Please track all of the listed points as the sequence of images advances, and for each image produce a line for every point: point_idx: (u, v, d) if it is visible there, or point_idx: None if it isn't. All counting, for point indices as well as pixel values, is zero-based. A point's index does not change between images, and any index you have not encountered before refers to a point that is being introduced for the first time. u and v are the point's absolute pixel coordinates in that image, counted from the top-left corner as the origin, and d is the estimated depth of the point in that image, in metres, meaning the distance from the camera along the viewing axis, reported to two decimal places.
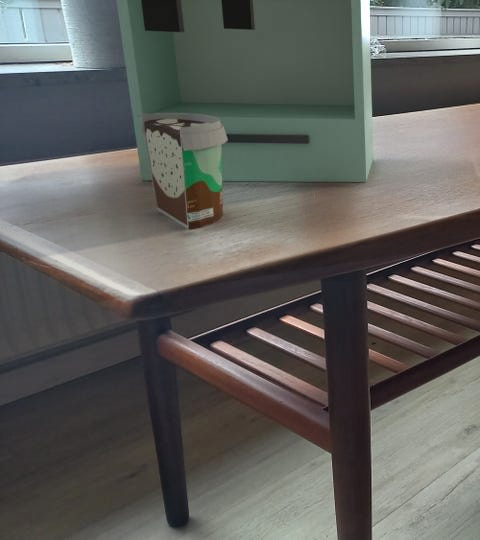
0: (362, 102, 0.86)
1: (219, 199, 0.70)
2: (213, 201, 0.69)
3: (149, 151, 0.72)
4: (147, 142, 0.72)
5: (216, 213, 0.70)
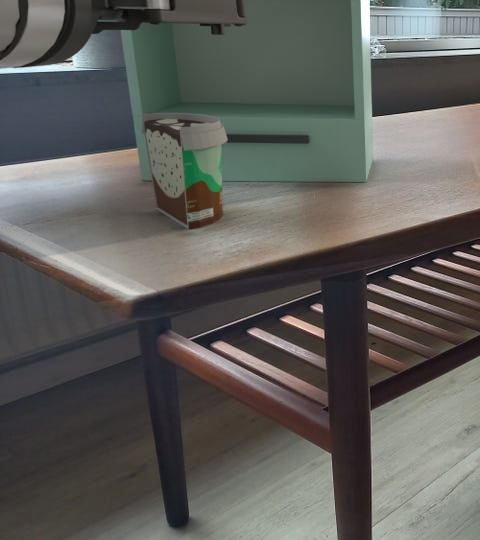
0: (362, 102, 0.86)
1: (219, 199, 0.70)
2: (213, 201, 0.69)
3: (149, 151, 0.72)
4: (147, 142, 0.72)
5: (216, 213, 0.70)
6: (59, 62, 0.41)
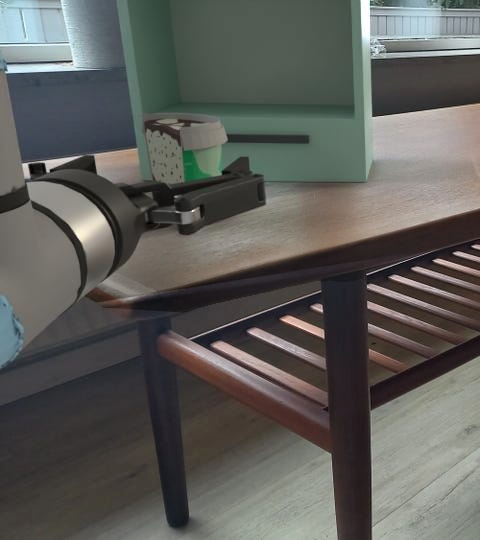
0: (362, 102, 0.86)
1: None
2: None
3: (149, 151, 0.72)
4: (147, 142, 0.72)
5: None
6: None
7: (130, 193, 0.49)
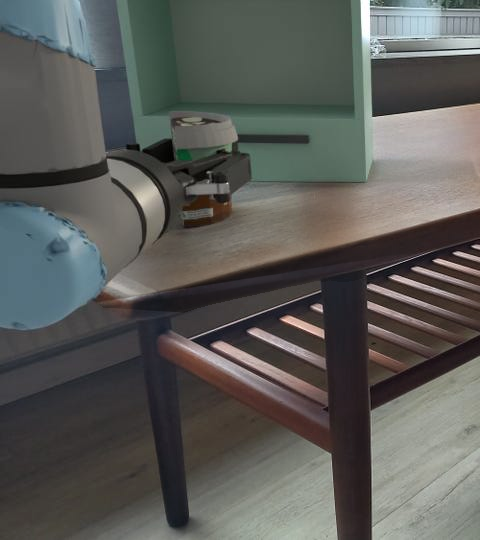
0: (362, 102, 0.86)
1: None
2: (214, 202, 0.69)
3: (174, 147, 0.74)
4: (173, 138, 0.74)
5: (217, 213, 0.70)
6: None
7: (172, 171, 0.58)
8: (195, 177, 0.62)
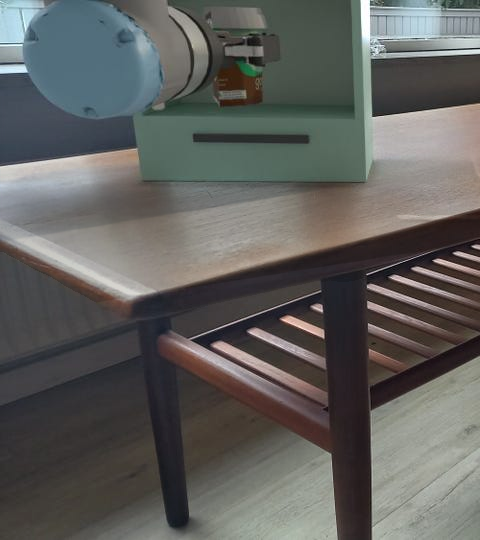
0: (362, 102, 0.86)
1: (254, 84, 0.75)
2: (247, 84, 0.74)
3: None
4: None
5: (250, 97, 0.75)
6: None
7: None
8: None
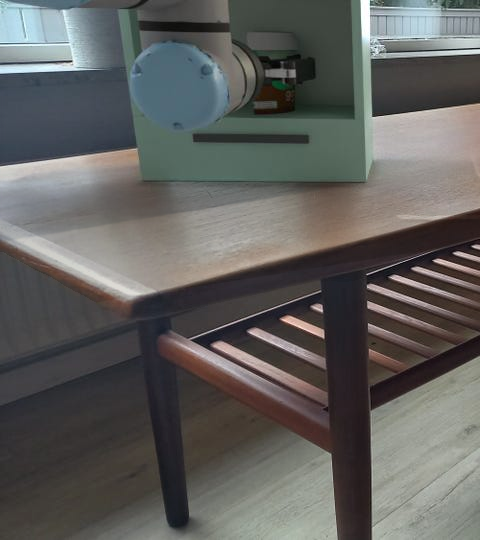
0: (362, 102, 0.86)
1: (285, 96, 0.90)
2: (278, 96, 0.89)
3: None
4: None
5: (280, 106, 0.90)
6: None
7: None
8: None
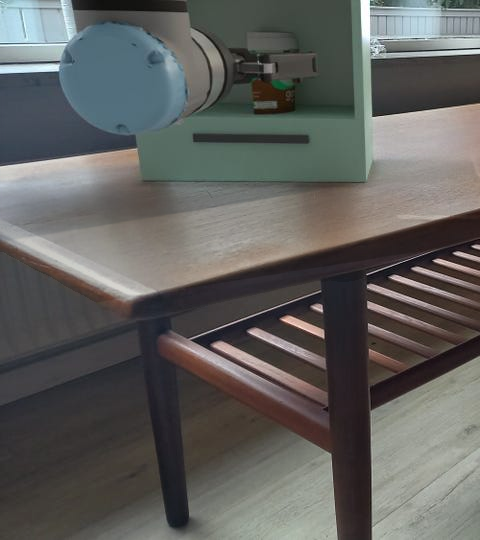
0: (362, 102, 0.86)
1: (285, 96, 0.90)
2: (277, 96, 0.89)
3: None
4: None
5: (280, 106, 0.90)
6: None
7: None
8: None
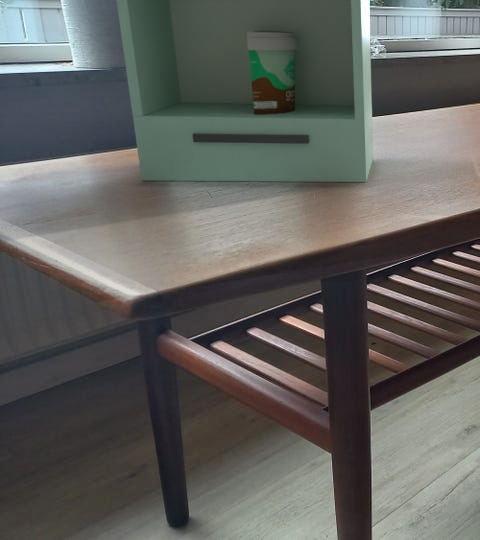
0: (362, 102, 0.86)
1: (285, 96, 0.90)
2: (277, 96, 0.89)
3: None
4: None
5: (280, 106, 0.90)
6: None
7: None
8: None
